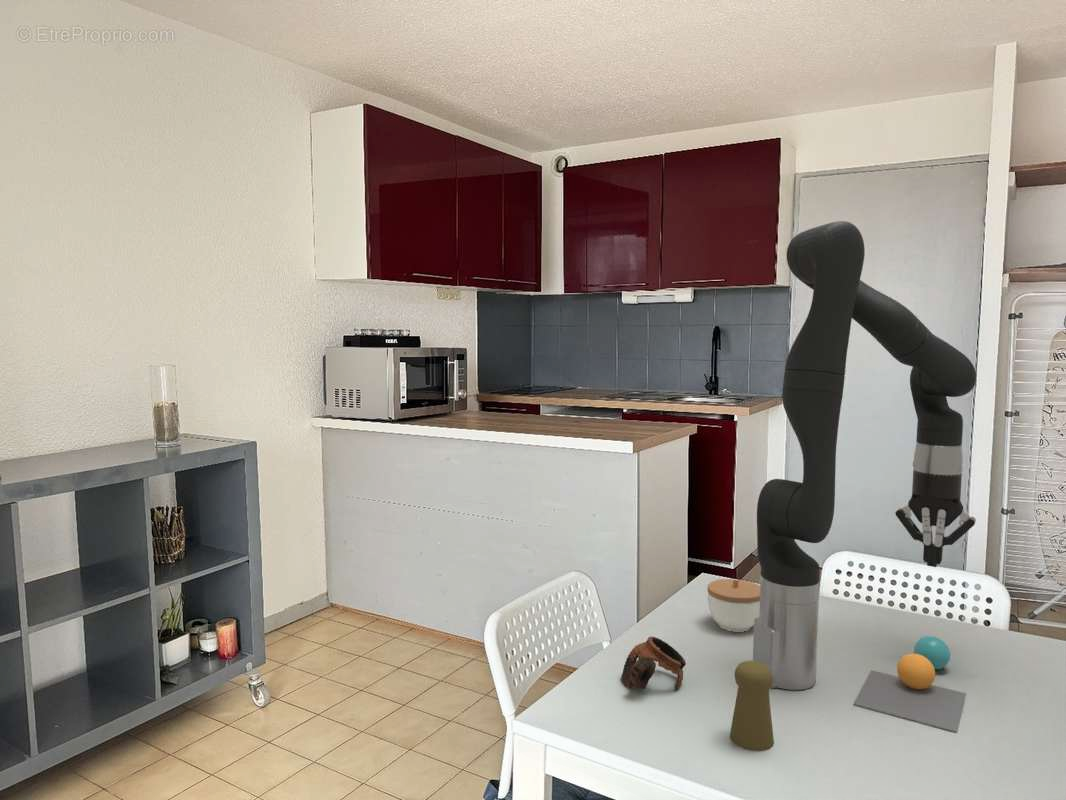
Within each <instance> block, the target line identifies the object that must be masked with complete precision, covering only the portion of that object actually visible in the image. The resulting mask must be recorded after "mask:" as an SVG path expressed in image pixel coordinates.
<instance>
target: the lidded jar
mask: <svg viewBox="0 0 1066 800" xmlns="http://www.w3.org/2000/svg"><path fill="white" fill-rule="evenodd" d="M707 602H708V603H707V605H708V609H709V612H710V614H711V616H712V618H713V620H714V621H715V622H716V623H717V624H718V627H720V628H721V629H722V630H724V629H725V631H727V632H731V631H733V632H732V633H745V632H744V631H746V632H748V630H749V629H750V628H752V627H754V619H755V618H758V617H759V609H760V585H759V584H756V583H754V582H752V581H748V580H742V579H737V578H723V579H717V580H713V581H710V582H709V583H708V584H707ZM750 630H751V629H750ZM750 630H749V631H750Z"/></svg>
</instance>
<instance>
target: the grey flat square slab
mask: <svg viewBox="0 0 1066 800" xmlns="http://www.w3.org/2000/svg"><path fill="white" fill-rule="evenodd" d="M965 695H967V692H962V691H959V690H954V689H950V688H946V687H942V686H937V685H934V684H931V685H930V686H929V687H928V688H925V689H920V690H918V689H913V688H910V687H908V686H907V685H905V684H904V683H903V682H902V681H901V679H900V678H899V676H898V675H893V674H889V673H885V672H884V673H883V672H880V671H875V670H870V672H869V674H868V676H867V677H866V679H865V682H864V683H863V685H862V686H861V689H860V690H859V692H858V694H857V696H856V698H855V699H854V702H853V706H855V707H859V708H863V709H866V710H871V711H875V712H878V713H881V714H886V715H887V716H888V715H889V716H893V717H896V718H899V719H903V720H907V721H911V722H915V723H919V724H922V725H926V726H930V727H933V728H937V729H941V730H944V731H948V732H951V733H955V734H957V733H958V729H959V725H960V720H961V716H962V712H963V708H964V704H965V699H966V696H965Z"/></svg>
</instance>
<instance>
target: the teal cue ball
mask: <svg viewBox="0 0 1066 800" xmlns="http://www.w3.org/2000/svg"><path fill="white" fill-rule="evenodd" d="M913 654H919V655H922V656H924V657H925V658H927V659H928V660H929V661H930V662H931V663H932V665H933V667H934V670H937V671H938V670H941V669H944V668H945V667H946V666H947V665H948V664H949V663H950V660H951V650H950V648H949V646H948V645H947V643H946V642H945V641H943V640H942V639H941V638H939V637H936V636H933V635H925V636H922V637H920V638H919V639H918V640H917V641H916V642H915V644H914V647H913Z"/></svg>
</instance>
